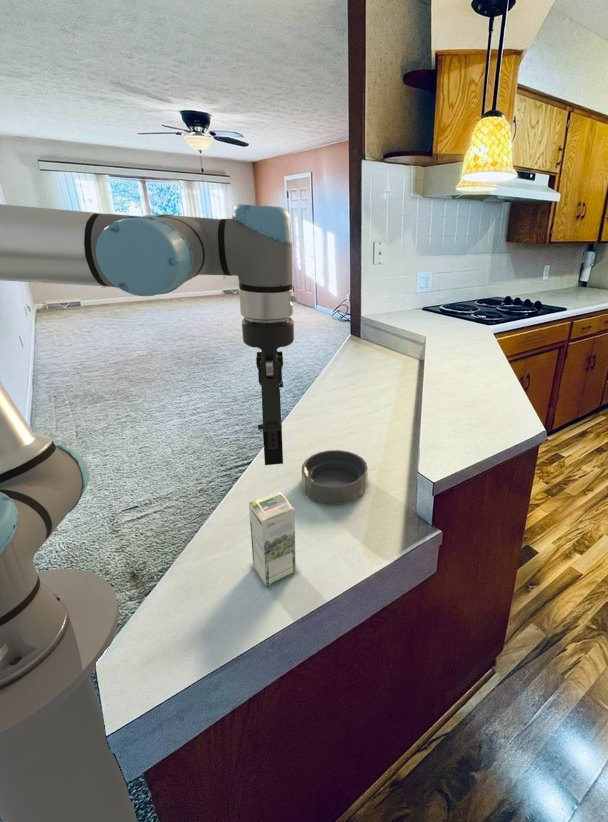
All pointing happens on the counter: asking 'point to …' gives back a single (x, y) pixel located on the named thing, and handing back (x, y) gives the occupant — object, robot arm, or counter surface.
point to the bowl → (334, 477)
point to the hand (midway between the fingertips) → (273, 441)
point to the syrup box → (273, 537)
